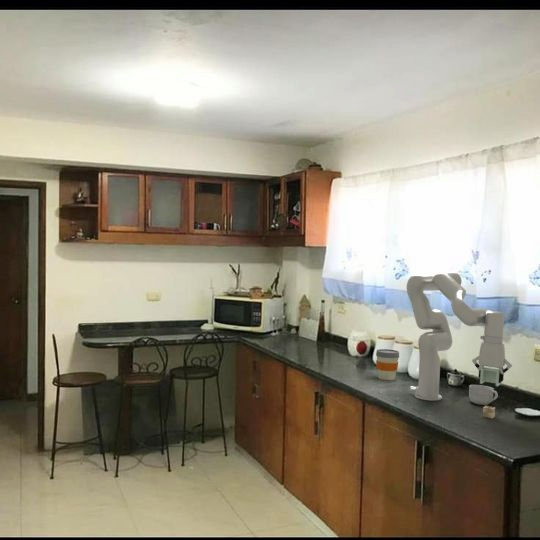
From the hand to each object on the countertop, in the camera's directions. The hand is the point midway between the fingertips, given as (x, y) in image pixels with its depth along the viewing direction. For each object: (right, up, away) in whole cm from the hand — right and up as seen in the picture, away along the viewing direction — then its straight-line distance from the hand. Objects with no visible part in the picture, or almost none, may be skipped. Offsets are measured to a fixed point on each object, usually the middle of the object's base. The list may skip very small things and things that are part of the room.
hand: (490, 380), depth 247 cm
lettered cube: (-1, -15, 0) cm, 15 cm away
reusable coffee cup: (-31, -12, +68) cm, 76 cm away
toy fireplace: (0, -1, 0) cm, 1 cm away
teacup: (+4, -15, +20) cm, 25 cm away
